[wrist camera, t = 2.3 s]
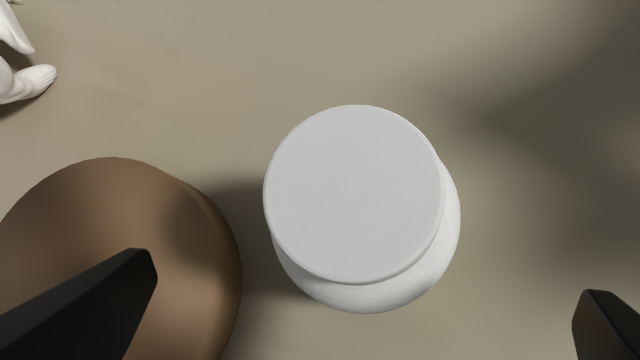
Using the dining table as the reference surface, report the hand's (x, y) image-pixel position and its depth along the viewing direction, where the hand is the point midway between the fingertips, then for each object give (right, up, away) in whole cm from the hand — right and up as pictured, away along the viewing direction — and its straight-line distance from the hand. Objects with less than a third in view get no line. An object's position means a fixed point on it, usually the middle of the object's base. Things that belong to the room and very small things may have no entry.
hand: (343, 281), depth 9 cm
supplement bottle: (+2, -1, +10) cm, 10 cm away
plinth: (-9, -3, +11) cm, 15 cm away
